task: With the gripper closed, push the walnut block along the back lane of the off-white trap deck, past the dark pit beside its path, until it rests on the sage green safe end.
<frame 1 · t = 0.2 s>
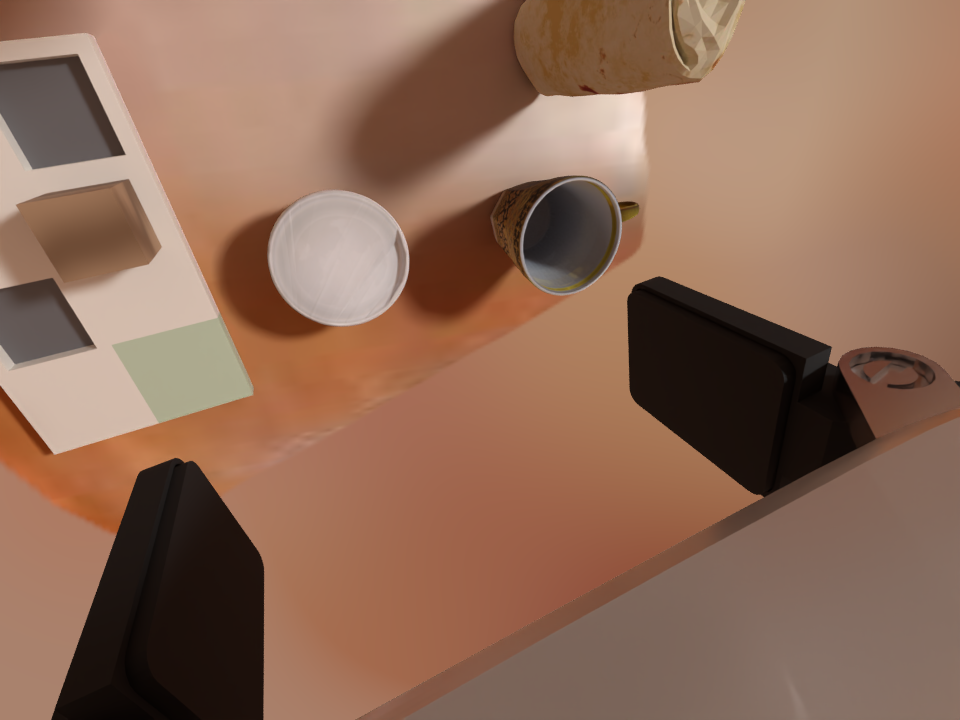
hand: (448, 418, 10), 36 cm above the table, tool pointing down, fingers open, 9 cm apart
ramekin: (335, 247, 43), on the table
ceramic cup: (532, 212, 48), on the table
walnut block: (108, 221, 34), point 1 cm above the table, touching trap deck
trap deck: (75, 268, 36), on the table
food model: (540, 34, 41), on the table
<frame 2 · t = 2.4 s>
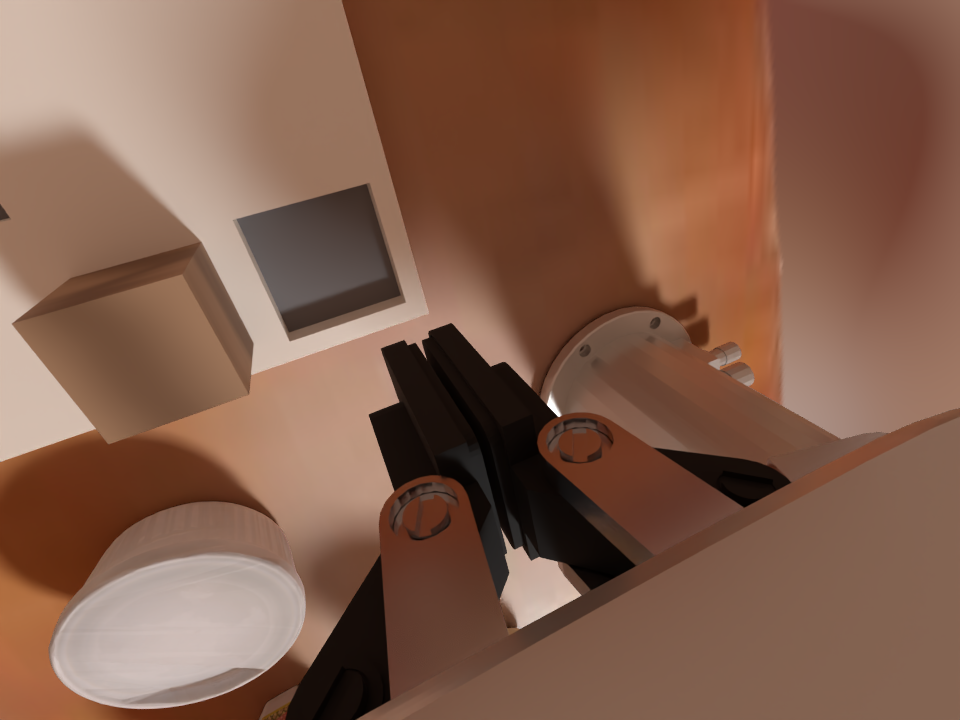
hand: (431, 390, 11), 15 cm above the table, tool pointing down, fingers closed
ramekin: (202, 555, 28), on the table
ceramic cup: (311, 714, 38), on the table
walnut block: (170, 313, 20), point 1 cm above the table, touching trap deck
trap deck: (46, 237, 19), on the table
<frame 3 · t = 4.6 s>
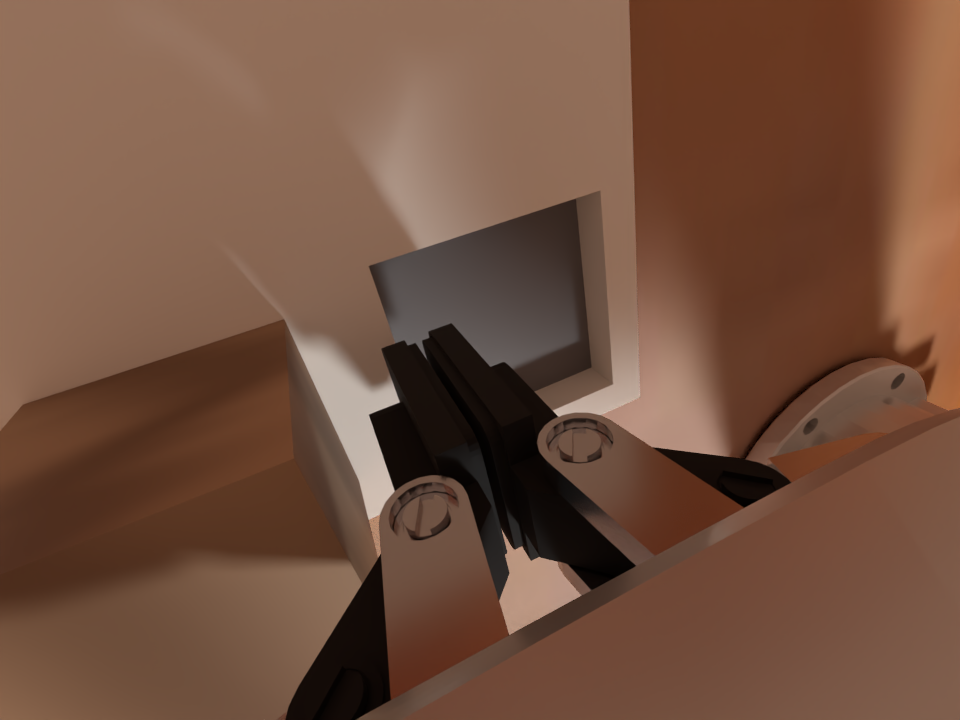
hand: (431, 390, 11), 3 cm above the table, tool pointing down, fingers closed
walnut block: (219, 449, 11), point 2 cm above the table, touching gripper
trap deck: (8, 308, 10), on the table
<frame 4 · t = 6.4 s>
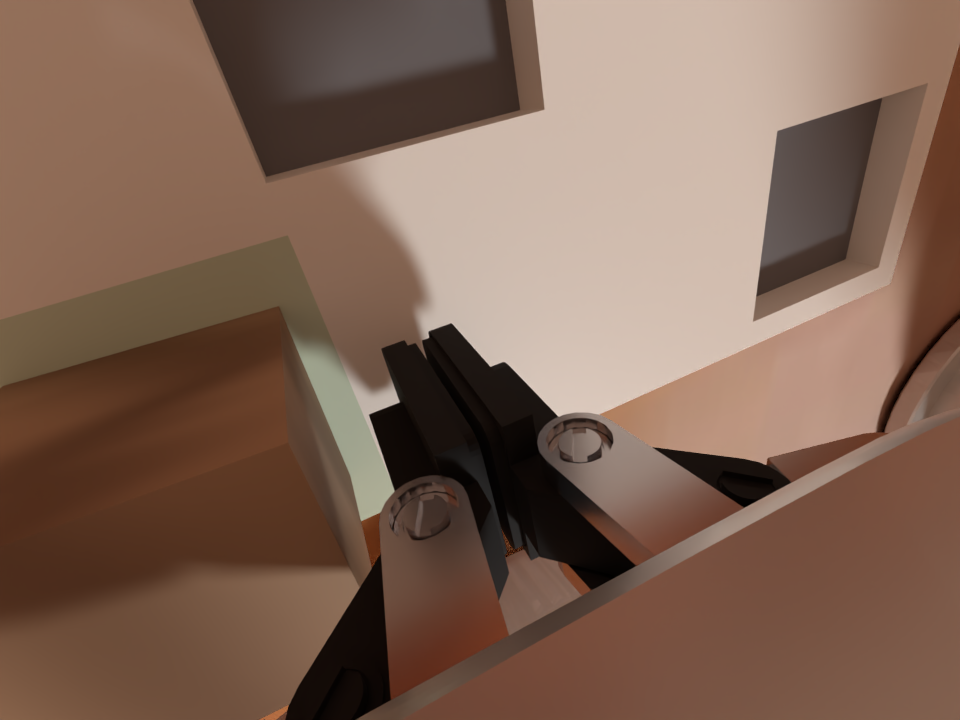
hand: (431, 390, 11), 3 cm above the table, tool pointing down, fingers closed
ramekin: (520, 608, 22), on the table
walnut block: (207, 439, 11), point 2 cm above the table, touching gripper
trap deck: (520, 153, 12), on the table
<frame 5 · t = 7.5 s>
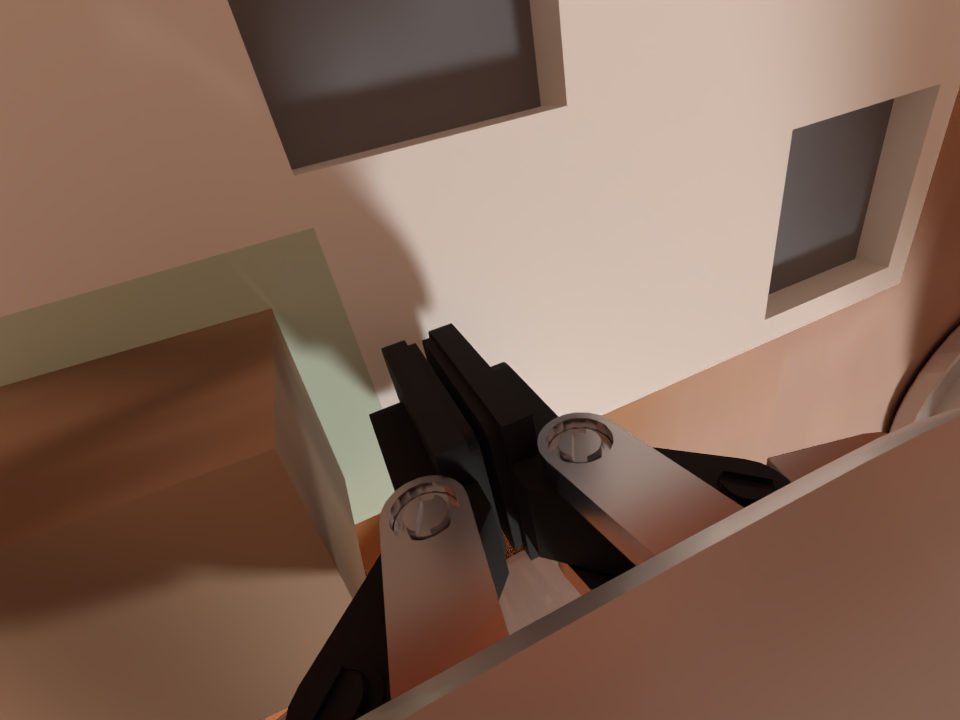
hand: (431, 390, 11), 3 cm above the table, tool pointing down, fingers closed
ramekin: (528, 606, 22), on the table
walnut block: (200, 442, 10), point 1 cm above the table, touching trap deck
trap deck: (539, 149, 12), on the table
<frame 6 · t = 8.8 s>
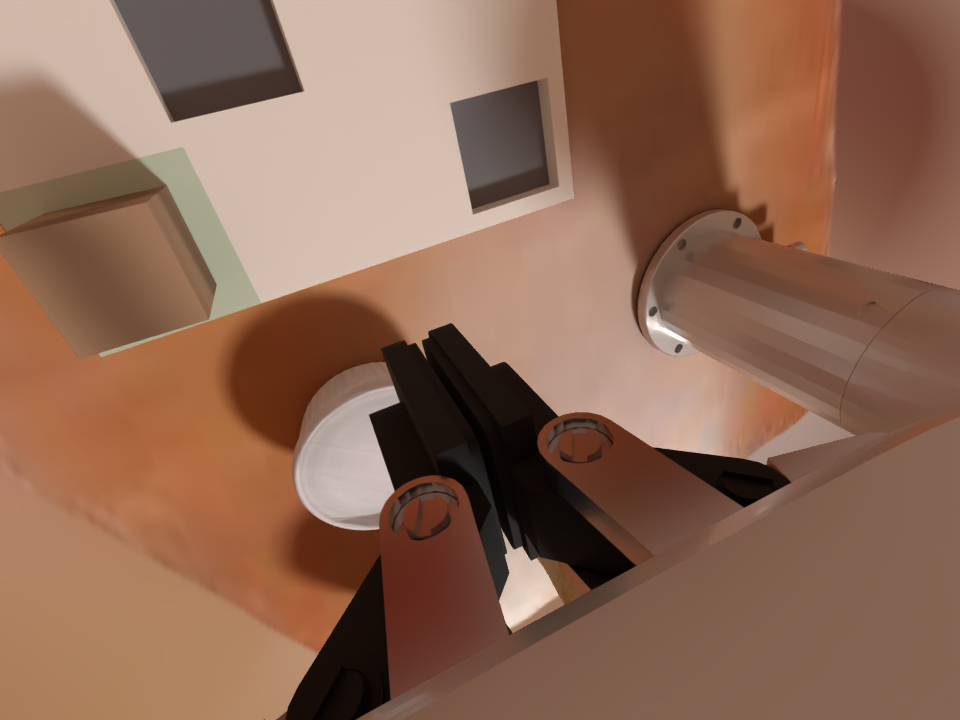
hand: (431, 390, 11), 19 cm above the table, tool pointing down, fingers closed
ramekin: (371, 416, 34), on the table
walnut block: (137, 252, 22), point 1 cm above the table, touching trap deck
trap deck: (309, 114, 24), on the table
food model: (569, 525, 49), on the table
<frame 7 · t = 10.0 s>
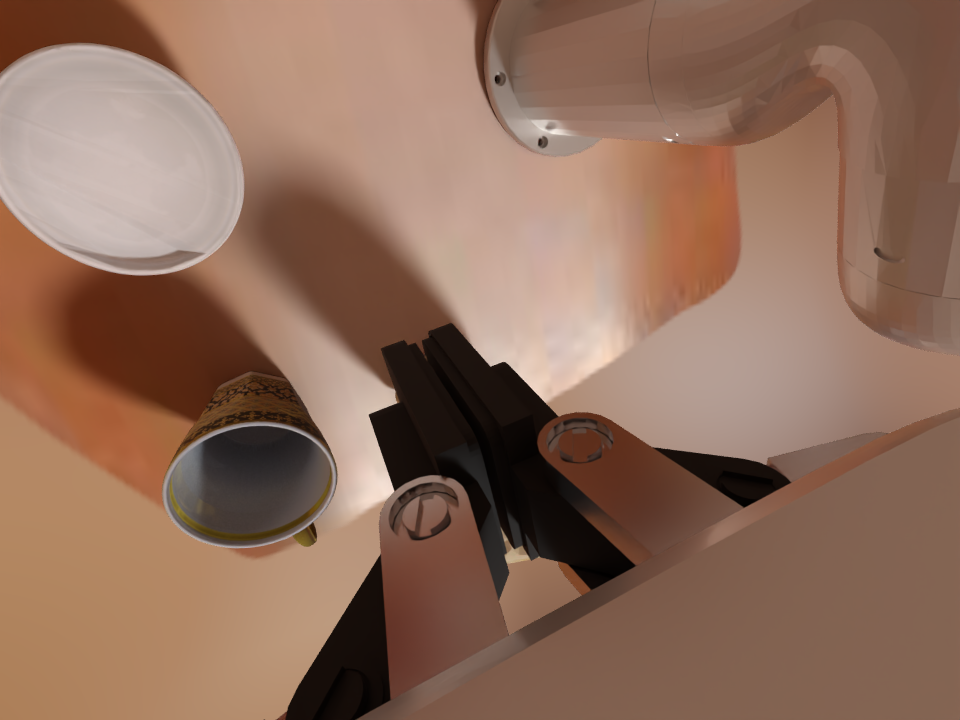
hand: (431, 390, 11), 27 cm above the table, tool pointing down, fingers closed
ramekin: (145, 162, 29), on the table
ceramic cup: (267, 419, 39), on the table
food model: (441, 374, 43), on the table
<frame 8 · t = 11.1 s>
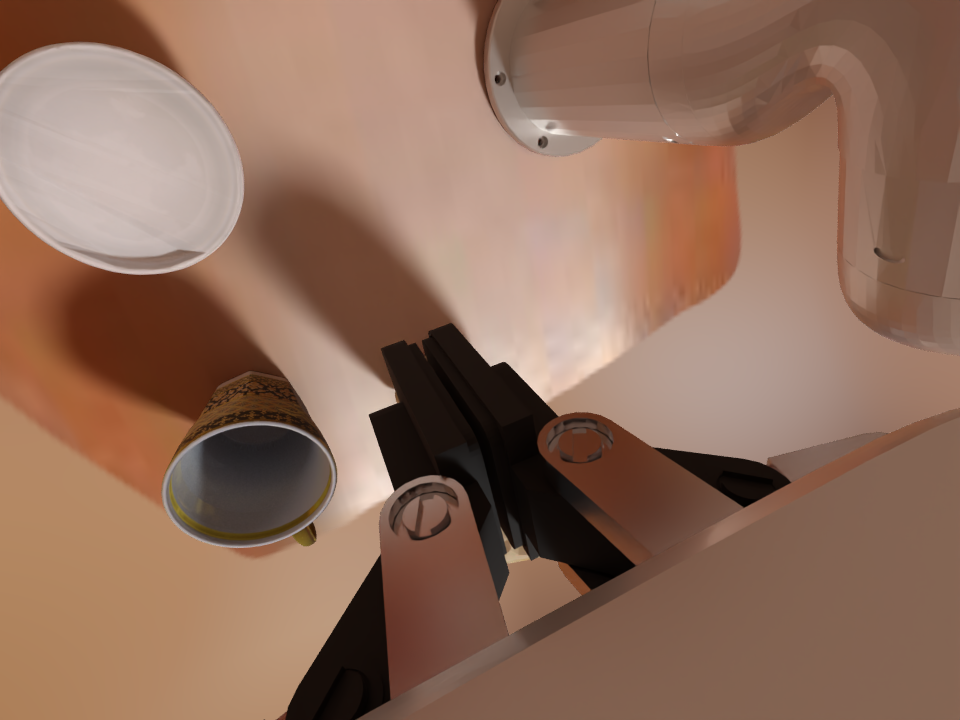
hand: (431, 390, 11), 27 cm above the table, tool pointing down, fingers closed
ramekin: (145, 161, 29), on the table
ceramic cup: (267, 419, 39), on the table
food model: (441, 374, 43), on the table
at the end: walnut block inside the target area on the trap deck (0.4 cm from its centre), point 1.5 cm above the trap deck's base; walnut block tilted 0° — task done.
